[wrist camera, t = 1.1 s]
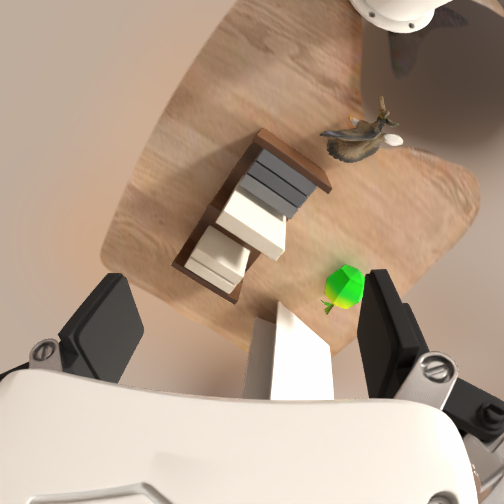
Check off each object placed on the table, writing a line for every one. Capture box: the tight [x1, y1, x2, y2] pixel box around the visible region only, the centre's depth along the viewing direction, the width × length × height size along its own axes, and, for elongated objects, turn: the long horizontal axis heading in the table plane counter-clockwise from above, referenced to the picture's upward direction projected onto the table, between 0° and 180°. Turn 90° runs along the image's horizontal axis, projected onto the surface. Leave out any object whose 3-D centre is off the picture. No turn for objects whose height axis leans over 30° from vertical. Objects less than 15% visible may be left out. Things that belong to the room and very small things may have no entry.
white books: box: [184, 225, 250, 294], centre depth 42 cm, size 4×7×7 cm, turn 56°
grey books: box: [239, 148, 317, 219], centre depth 36 cm, size 5×7×7 cm
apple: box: [321, 265, 365, 314], centre depth 45 cm, size 7×6×9 cm
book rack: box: [171, 128, 332, 305], centre depth 39 cm, size 20×10×8 cm, turn 146°
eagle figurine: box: [320, 95, 403, 163], centre depth 34 cm, size 8×7×9 cm
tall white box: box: [241, 301, 334, 400], centre depth 40 cm, size 14×6×30 cm, turn 45°
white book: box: [216, 175, 286, 261], centre depth 35 cm, size 2×7×13 cm, turn 56°
